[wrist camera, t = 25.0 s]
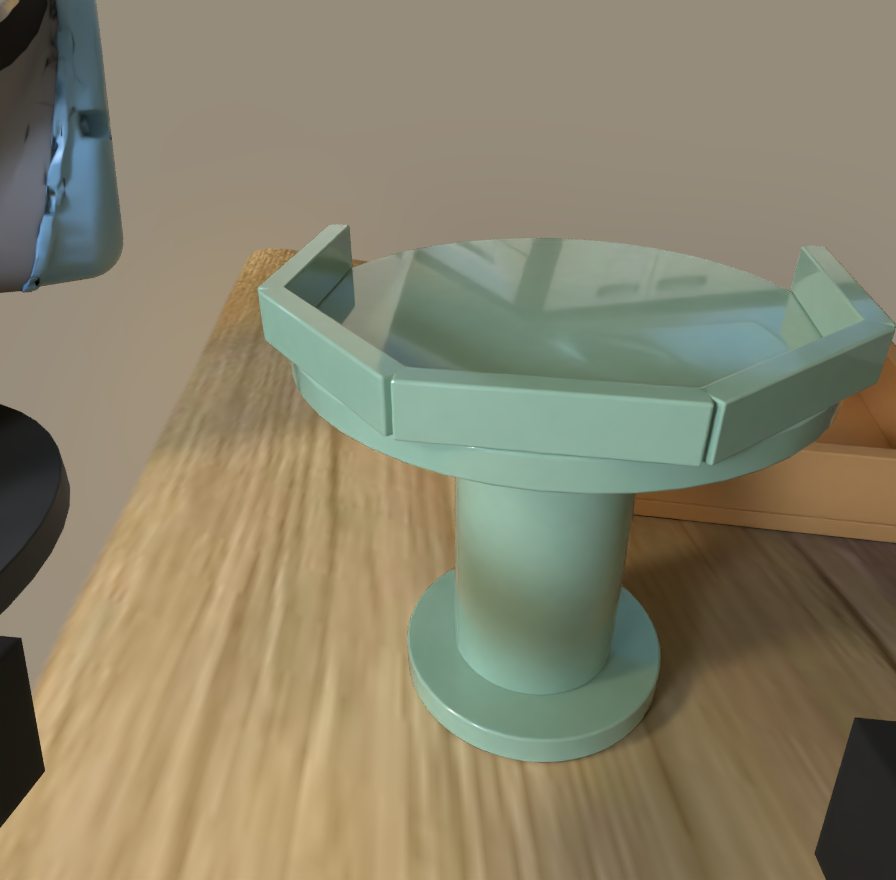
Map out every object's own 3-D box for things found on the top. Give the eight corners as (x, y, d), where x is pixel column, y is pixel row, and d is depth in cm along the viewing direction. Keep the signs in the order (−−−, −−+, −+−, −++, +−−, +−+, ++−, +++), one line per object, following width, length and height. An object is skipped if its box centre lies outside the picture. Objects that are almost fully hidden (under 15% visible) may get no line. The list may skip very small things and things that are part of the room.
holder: (458, 495, 32) (459, 419, 30) (497, 369, 42) (499, 306, 40) (957, 550, 28) (996, 468, 26) (863, 399, 39) (885, 332, 37)
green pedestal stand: (267, 809, 19) (168, 363, 13) (384, 515, 30) (365, 191, 24) (783, 894, 18) (991, 425, 11) (710, 548, 29) (791, 207, 22)
